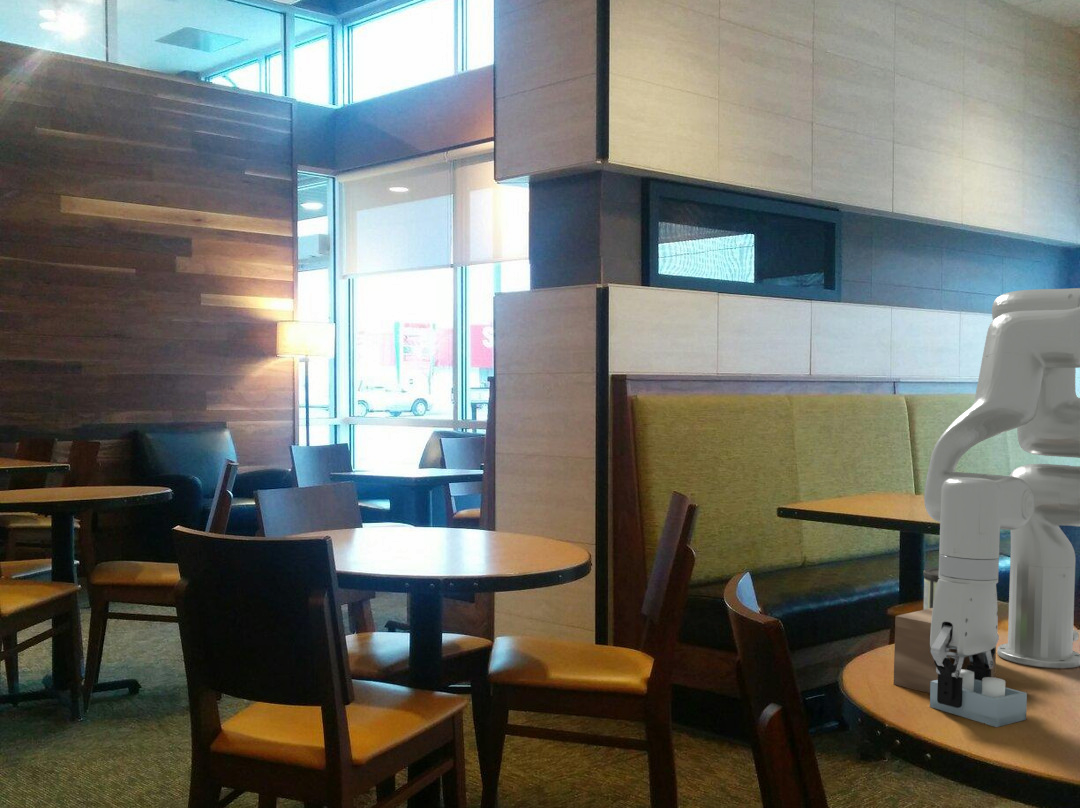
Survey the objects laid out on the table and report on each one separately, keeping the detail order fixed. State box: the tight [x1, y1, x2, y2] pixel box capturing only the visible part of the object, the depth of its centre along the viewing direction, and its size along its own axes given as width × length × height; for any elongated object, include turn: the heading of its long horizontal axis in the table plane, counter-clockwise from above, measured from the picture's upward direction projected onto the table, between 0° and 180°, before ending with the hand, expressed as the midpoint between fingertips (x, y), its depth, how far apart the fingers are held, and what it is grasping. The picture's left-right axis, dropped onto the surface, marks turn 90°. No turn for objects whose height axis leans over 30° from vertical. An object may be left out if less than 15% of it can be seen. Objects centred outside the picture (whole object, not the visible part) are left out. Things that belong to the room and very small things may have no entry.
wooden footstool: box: [893, 608, 997, 694], centre depth 158 cm, size 14×8×10 cm, turn 130°
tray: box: [929, 669, 1028, 728], centre depth 143 cm, size 6×10×5 cm, turn 33°
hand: (963, 699), depth 145 cm, fingers closed on tray, 7 cm apart
